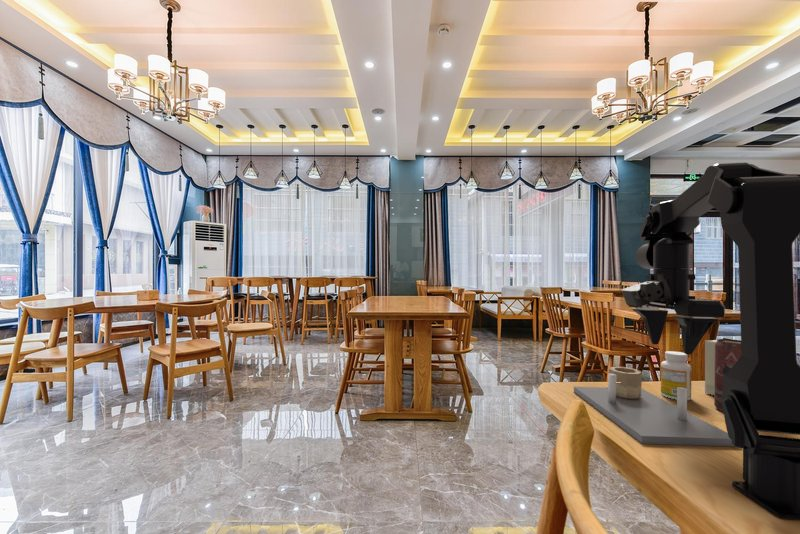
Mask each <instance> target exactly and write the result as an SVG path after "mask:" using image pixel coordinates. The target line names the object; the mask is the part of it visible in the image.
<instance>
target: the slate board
mask: <svg viewBox="0 0 800 534" xmlns="http://www.w3.org/2000/svg"><path fill="white" fill-rule="evenodd" d="M607 377H608V378H607V384H608V385H607V387H605V386H604V387H598V386H573V392H574V393H575V394H576V395H577V396H579V398H581V399H583V401H585V402H586V403H588V404H589V405H590V406H592V407H593V408H594V409H595V410H597V411H598V412H599V413H600V414H602V415H604V416H605V417H606V418H607V419H609V420H610V421H611V422H613V423H614V424H615V425H617V426H618V427H620V428H621V429H622V430H624V431H625V432H626V433H628V435H630V436H631V437H632V438H634V439H635V440H637V441H638V442H640V444H644V445H645V444H646V445H647V444H648V445H649V444H651V445H678V446H679V445H680V446H681V445H682V446H683V445H684V446H707V447H713V446H714V447H737V446H734V445H733V444H732V439H730V438H729V436H728V432H727V431H725V430H723V429H721V428H719V427H717V426H715V425H713V424H711V423H709V422H707V421H705V420H703V419H702V418H700V417H697V416H696V415H694V414H692V413H690V412H688V400H687V389H686V388H683V387H677V400H676V405H674V404H673V403H671V402H669V401H667V400H664V399H663V398H661V397H659V396H657V395H655V394H653V393H651V392H649V391H648V390H645V389H644V388H642V387H641V397H639V398H625V397H620V396H616V374H609V373H608V374H607Z"/></svg>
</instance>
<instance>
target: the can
mask: <svg viewBox="0 0 800 534" xmlns="http://www.w3.org/2000/svg"><path fill="white" fill-rule="evenodd" d="M716 340H717V342H716V343H715V389H714V396H713V397H714V406H715V408H716V410H718V411H720V412H722V413H723V407H722V402H721V399H722V392H723V384H724V383H723V374H722V371H723V369H724V367H725V366H734V364H735V363H736V362H737V361H738V359H739V358H740V357H741V339H733V338H732V339H729V338H718V339H716Z"/></svg>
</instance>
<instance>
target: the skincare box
mask: <svg viewBox="0 0 800 534" xmlns="http://www.w3.org/2000/svg"><path fill="white" fill-rule="evenodd" d="M716 342H717V339H713V340H712V339H711V340H710V339H708V340H706V339H705V340H704V393H705V394H707V395H710V394H711V396H713V395H714V389H715V343H716Z"/></svg>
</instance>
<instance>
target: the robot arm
mask: <svg viewBox="0 0 800 534" xmlns="http://www.w3.org/2000/svg"><path fill="white" fill-rule="evenodd" d="M713 209H715V210H716V211H718V213H719V216H720V223H721V228H722V230H723V231H724V233H726V235H727V236H729V238H730V239H731V240H732V241H733V243H734V244H735V245H736V246H737V250H738V255H737V256H738V282H739V283H738V284H739V288H738V289H739V313H740V314H739V317H740V318H739V321H740V322H739V323H740V340H741V357H740V358H739V359H738V361H737V362H736V363H735V364H734V366H725V367H724V369H723V371H722V374H723V383H724V384H723V392H722V399H721V402H722V407H723V412H722V413H723V417H724V422H725V428H726V432H727V433H728V436H729V438H730V439H732V444H733V445H734V446H737V447H738V448H740V449H742V480H744V481H737V480H734V481H731V486H732V487H733V488H734V489H736V490H738V491H739V492H741V493H742V494H743V495H745V496H747V497H748V498H750V499H751V500H753V501H754V502H756V503H757V504H759V505H760V506H762V507H763V508H765V509H766V510H767V511H768V512H771V513H772V514H773V515H775V516H776V517H779V518H782V519H789V520H790V519H792V520H795V519H796V520H800V438H795V437H794V438H793V437H784V436H774V435H766V434H765V435H764V434H760V433H759V432H763V433H767V432H768V433H775V434H776V433H777V434H783V435H796V436H800V365H799V363H798V359H797V356H798V355H797V354H798V353H797V334H796V333H797V330H796V308H795V283H794V257H793V256H794V255H793V244H794V242H795V241H796V239H797V238H798V237H799V236H800V176H799V175H796V174H795V175H790V174H787V173H782V172H779V171H774V170H769V169H765V168H762V167H761V168H760V167H758V166H756V165H755V164H752V163H749V162H729V163H715V164H713V165H709V166H708V167H707V168H706V169H705V170H704V173H703V175H701V177H699V179H697V180H696V181H695V182H694V183H693V184H691V185H690V186H688V188H686V189H685V190H684V191H682V193H680V195H678V196H677V197H676V198H674V199H671V200H666V201H661V202H659V203H657V204H655V205H653V206H652V207H651V208H650V210H649V211H648V212H647V213H646V216H645V218H644V220H643V222H642V225H641V227H640V231H639V236H640V238H639V240H640V242H645V244H643V245H641V246H640V247H639V248H637V250H636V253H635V262H636V263H637V264H638V266H640V267H641V268H642V269H645V270H652V271H653V272H652V273H648V274H647V275H646V281H644V282H640V283H637V284H634V285H630V286H628V287H625V288H622V289H621V292H622V296H623V298H624V301H625V304H626V306H628V307H629V308H632V311H633V312H635V313H636V314H637V315H639V316H640V317H641V318H642V320H643V323H644V325H645V328H646V332H647V334H648V336H649V340H650V343H651V345H659V343H660V340H661V338H662V335H663V332H664V327H665V323H666V320H667V317H668V314H669V310H673V311H674V312H675V314H676V315H673V318H674V319H675V320H676V322H677V323H678V324H679V325H680V329H681V340H682V349H683V353H685V354H687V355H692V354H693V353H694V352H695V350H696V348H697V347H698V346H699V343H700V342H701V341H702V339H703V337H704V336H705V335H706V333H707V332H708V330H710V328H711V327H712V326H713V324H715V322H716V323H717V322H720V319H719V318H725V317H726V306H725V305H724V304H723V303H722V302H721V301H720V300H712V299H702V298H701V299H698V298H697V299H696V295H690V280H694V281H695V280H696V274H693V273H691V274H690V265H691V263H690V262H691V261H690V260H691V258H690V257H691V256H690V255H691V251H690V250H691V247H690V245H691V244H694V242H695V241H694V240H695V239H693V238H692V237H691V234H692V233H693V232H694V230H696V228H697V227H698V226H700V217H702V216H704V215H705V214H706V213H708V212H709V211H710V210H713ZM664 309H665V310H664ZM667 309H668V310H667ZM734 446H733V447H734Z"/></svg>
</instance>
